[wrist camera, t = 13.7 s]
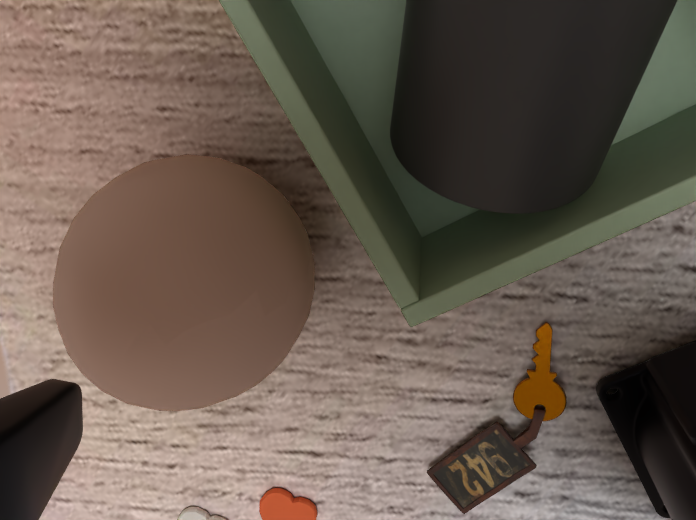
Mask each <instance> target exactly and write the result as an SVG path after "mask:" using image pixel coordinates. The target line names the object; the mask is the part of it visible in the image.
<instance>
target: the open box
mask: <svg viewBox="0 0 696 520" xmlns="http://www.w3.org/2000/svg"><path fill="white" fill-rule="evenodd" d="M219 1H220V3H221V5H222V7H223V8H224V10H225V12H226V13H227V15H228V17H229V18H230V20H231V22H232V24H233V25H234V27H235V29H236V30H237V32H238V34H239V36H240V37H241V39H242V41H243V42H244V44H245V46H246V47H247V49H248V51H249V53H250V54H251V56H252V58H253V59H254V61H255V63H256V65H257V66H258V68H259V70H260V71H261V73H262V75H263V76H264V78H265V80H266V82H267V83H268V85H269V87H270V88H271V90H272V92H273V94H274V95H275V97H276V99H277V100H278V102H279V104H280V105H281V107H282V109H283V111H284V112H285V114H286V116H287V117H288V119H289V121H290V123H291V124H292V126H293V128H294V129H295V131H296V133H297V135H298V136H299V138H300V140H301V141H302V143H303V145H304V146H305V148H306V150H307V152H308V153H309V155H310V157H311V158H312V160H313V162H314V164H315V165H316V167H317V169H318V170H319V172H320V174H321V175H322V177H323V179H324V181H325V182H326V184H327V186H328V187H329V189H330V191H331V193H332V194H333V196H334V198H335V199H336V201H337V203H338V204H339V206H340V208H341V210H342V211H343V213H344V215H345V216H346V218H347V220H348V222H349V223H350V225H351V227H352V228H353V230H354V232H355V233H356V235H357V237H358V239H359V240H360V242H361V244H362V245H363V247H364V249H365V251H366V252H367V254H368V256H369V257H370V259H371V261H372V262H373V264H374V266H375V268H376V269H377V271H378V273H379V274H380V276H381V278H382V280H383V281H384V283H385V285H386V286H387V288H388V290H389V291H390V293H391V295H392V297H393V298H394V300H395V302H396V303H397V305H398V307H399V308H400V309H401V312H402V314H403V315H404V317H405V319H406V320H407V322H408V324H409V325H410V326H411V327H413V326H416V325H418V324H420V323H422V322H425V321H427V320H429V319H431V318H434V317H436V316H438V315H440V314H443V313H445V312H447V311H449V310H452V309H454V308H456V307H458V306H460V305H463V304H465V303H467V302H469V301H472V300H474V299H476V298H478V297H481V296H483V295H485V294H487V293H490V292H492V291H494V290H496V289H499V288H501V287H503V286H505V285H508V284H510V283H512V282H514V281H517V280H519V279H521V278H523V277H526V276H528V275H530V274H532V273H535V272H537V271H539V270H541V269H544V268H546V267H548V266H550V265H553V264H555V263H557V262H559V261H562V260H564V259H566V258H568V257H571V256H573V255H575V254H577V253H580V252H582V251H584V250H586V249H589V248H591V247H593V246H595V245H598V244H600V243H602V242H604V241H607V240H609V239H611V238H613V237H615V236H618V235H620V234H622V233H624V232H627V231H629V230H631V229H633V228H636V227H638V226H640V225H642V224H645V223H647V222H649V221H651V220H654V219H656V218H658V217H660V216H663V215H665V214H667V213H669V212H672V211H674V210H676V209H678V208H681V207H683V206H685V205H687V204H690V203H692V202H694V201H696V0H677V2H676V5H675V7H674V9H673V11H672V13H671V16H670V18H669V20H668V22H667V24H666V26H665V29H664V31H663V33H662V35H661V37H660V40H659V42H658V44H657V46H656V48H655V50H654V53H653V55H652V57H651V59H650V61H649V64H648V66H647V68H646V70H645V72H644V74H643V77H642V79H641V81H640V83H639V85H638V88H637V90H636V92H635V94H634V96H633V98H632V101H631V103H630V105H629V107H628V109H627V112H626V114H625V116H624V118H623V120H622V122H621V125H620V127H619V129H618V131H617V133H616V136H615V138H614V140H613V142H612V144H611V146H610V149H609V151H608V153H607V155H606V157H605V160H604V162H603V164H602V166H601V168H600V170H599V173H598V175H597V177H596V179H595V181H594V182H593V184H592V185H591V187H590V188H589V189H588V190H587V191H586V192H585V193H584V194H582V195H581V196H580V197H578V198H577V199H576V200H574V201H572V202H570V203H568V204H566V205H563V206H561V207H558V208H555V209H551V210H547V211H543V212H535V213H522V214H511V213H498V212H491V211H485V210H480V209H476V208H472V207H468V206H465V205H462V204H460V203H457V202H454V201H452V200H449V199H447V198H445V197H443V196H441V195H439V194H437V193H435V192H433V191H432V190H430V189H428V188H427V187H425V186H424V185H423V184H421V183H420V182H418V181H417V180H416V179H415V178H414V177H413V176H412V175H410V174H409V173H408V171H407V170H406V169H405V168H404V167H403V166H402V164H401V163H400V161H399V160H398V158H397V157H396V154H395V152H394V150H393V147H392V144H391V139H390V126H391V118H392V110H393V102H394V94H395V86H396V78H397V70H398V62H399V54H400V46H401V38H402V31H403V23H404V15H405V7H406V0H219Z"/></svg>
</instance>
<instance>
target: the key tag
mask: <svg viewBox="0 0 696 520" xmlns="http://www.w3.org/2000/svg"><path fill="white" fill-rule="evenodd" d="M536 336H537V338H538V339H539V340H538V341H537V342H535V343H534V344H533V349H534V350H535V351H536V352H537V355H536V356H535V357H533V358H532V361H533V362H534V363H535V364H536V370H532V369H527V373H528V375H529V378H526V379H524V380H522V381H521V382H520V383H519V384H518V385H517V386H516V388H515V390H514V394H513V401H514V404H515V406H516V408H517V410H518V411H519V412H520V413H521V414H522V415H524V416H525V417H527V418H529V419H532V420H531V422H530V425H529V426H528V427H527V428H526V429H525V430H524V431H523V432H521V433H520V434H519V435H518V436H517V437H516V438H515V439H514V440H513V438H512V437H511V436H510V435H509V434H508V432H507V431H506V430H505V429H504V428H503V427H502V425H501V424H499V423H498V422H496V423H494V424H493V425H491V426H490V427H488V428H486V429H485V430H483V431H482V432H480V433H478V434H477V435H476V436H474V437H473V438H471V439H470V440H469V441H467V442H466V443H465V444H463V445H462V446H461V447H459V448H458V449H456V450H455V451H454V452H452V453H451V454H449V455H448V456H447V457H445V458H444V459H443V460H441V461H440V462H438V463H437V464H436V465H434V466H433V467H432V468H430V469H429V470H427V473H428V475H429V476H430V477H431V479H432V480H433V481H434V482H435V483H436V484H437V485H438V486H439V488H440V489H441V490H442V491H443V492H444V493H445V494H446V496H447V497H448V498H449V499H450V500H451V501H452V502H453V503H454V504H455V505H456V506H457V508H458V509H459V510H460V511H461V512H462V513H463V514H465V513H466V512H468V511H469V510H471V509H472V508H474V507H475V506H477V505H478V504H480V503H481V502H483V501H484V500H486V499H488V498H489V497H491V496H493V495H494V494H496V493H497V492H499V491H500V490H502V489H503V488H505V487H506V486H508V485H509V484H511V483H512V482H514V481H515V480H517V479H518V478H520V477H522V476H523V475H525V474H527V473H528V472H530V471H531V470H533V469H535V468H536V464H535V463H534V462H533V460H532V459H531V458H530V457H529V456H528V455H527V454H526V453H525V452H524V451H523V450H522V449H521V448H522V447H524V446H525V445H527V444H528V443H530V442H531V441H533V440H534V439H536V437H537V435H538V432H539V429H540V427H541V424H542V422H543V421H549V420H552V419H555V418H557V417H558V416H559V415H561V414H562V412H563V411H564V409H565V407H566V403H567V402H566V395H565V392H564V390H563V388H562V387H561V386H560V385H559V384H558V383H557V382H555V381H554V380H553V379H554V378H555V377H556V376H557V373H556V372H550V361H551V344H552V328H551V326H550V324H549V323H547V322H545V323H544V324H543V325H542V326H540V327H539V328H538V329H537V330H536ZM538 404H541V405H543V406H538ZM534 407H535V408H534ZM545 408H546V410H545Z"/></svg>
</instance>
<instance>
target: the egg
mask: <svg viewBox="0 0 696 520" xmlns="http://www.w3.org/2000/svg"><path fill="white" fill-rule="evenodd" d="M314 290H315V264H314V259H313V255H312V250H311V246H310V241H309V237H308V234H307V232H306V230H305V228H304V226H303V223H302V221H301V219H300V217H299V216H298V215H297V213H296V212H295V211H294V209H293V208H292V206H291V205H290V204H289V202H288V201H287V200H286V198H285V197H284V195H283V194H282V193H280V192H279V191H278V190H277V189H276V188H275V187H273V186H272V185H271V184H270V183H269V182H267V181H266V180H265V179H264V178H263V177H261V176H259V175H258V174H256V173H255V172H253V171H251V170H250V169H248V168H246V167H244V166H241V165H238V164H235V163H232V162H230V161H227V160H224V159H220V158H216V157H208V156H200V155H189V154H185V155H180V156H174V157H169V158H163V159H158V160H152V161H149V162H145V163H142V164H140V165H138V166H136V167H134V168H132V169H131V170H129V171H127V172H125V173H123V174H121V175H119V176H117V177H116V178H114V179H113V180H112V181H111V182H109V183H108V184H107V185H105V186H104V187H103V188H101V189H100V190H99V191H97V192H96V193H95V194H93V196H92V197H91V198H90V199H89V200H88V202H87V203H86V204H85V205H84V207H83V208H82V209H81V210H80V211H79V213H78V214H77V215H76V216H75V217H74V219H73V221H72V223H71V226H70V228H69V230H68V232H67V234H66V236H65V238H64V240H63V242H62V244H61V246H60V250H59V255H58V261H57V266H56V271H55V277H54V282H53V308H54V312H55V317H56V322H57V325H58V329H59V332H60V335H61V337H62V340H63V342H64V345H65V347H66V350H67V353H68V355H69V356H70V358H71V359H72V360H73V362H74V363H75V365H76V366H77V367H78V369H79V370H80V371H81V373H82V374H83V375H84V376H86V377H87V378H88V379H89V380H90V381H91V382H92V383H93V384H95V385H96V386H97V387H98V388H99V389H100V390H101V391H103V392H105V393H107V394H109V395H111V396H113V397H115V398H117V399H119V400H121V401H123V402H125V403H127V404H131V405H135V406H140V407H145V408H149V409H154V410H159V411H181V410H190V409H198V408H204V407H207V406H210V405H213V404H216V403H219V402H221V401H224V400H227V399H230V398H233V397H236V396H238V395H240V394H241V393H243V392H245V391H247V390H249V389H250V388H252V387H254V386H256V385H257V384H258V383H260V382H261V381H262V380H263V379H264V378H266V377H267V376H268V375H269V374H271V373H272V372H273V371H274V370H275V369H276V368H277V367H278V366H279V364H280V363H281V362H282V361H283V360H284V358H285V357H286V356H287V354H288V353H289V351H290V350H291V348H292V346H293V345H294V343H295V342H296V340H297V338H298V337H299V335H300V333H301V331H302V329H303V327H304V324H305V322H306V320H307V318H308V316H309V313H310V308H311V303H312V299H313V294H314Z"/></svg>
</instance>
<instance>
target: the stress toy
mask: <svg viewBox="0 0 696 520" xmlns="http://www.w3.org/2000/svg"><path fill="white" fill-rule="evenodd" d="M260 514H261V517H262V519H263V520H316V517H317V509H316V506H315V504H314V503H313V502H311V501H310V500H309V499H306V498H303V497H296V498H294V497H293V496H292V494H291V493H290V492H288V491H286V490H284V489H282V488H272V489H270V490H268V491H267V492H266V493H265V494H264V496H263V497H262V498H261V500H260ZM177 520H227V519H226V518H223V517H220V516H217V515H213V516H210V515H209V514H208V513H207V511H205V510H203V509H201V508H199V507H188V508H186V509H184V510H183V511H182V513H181V514H180V516H179V517H178V519H177Z"/></svg>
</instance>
